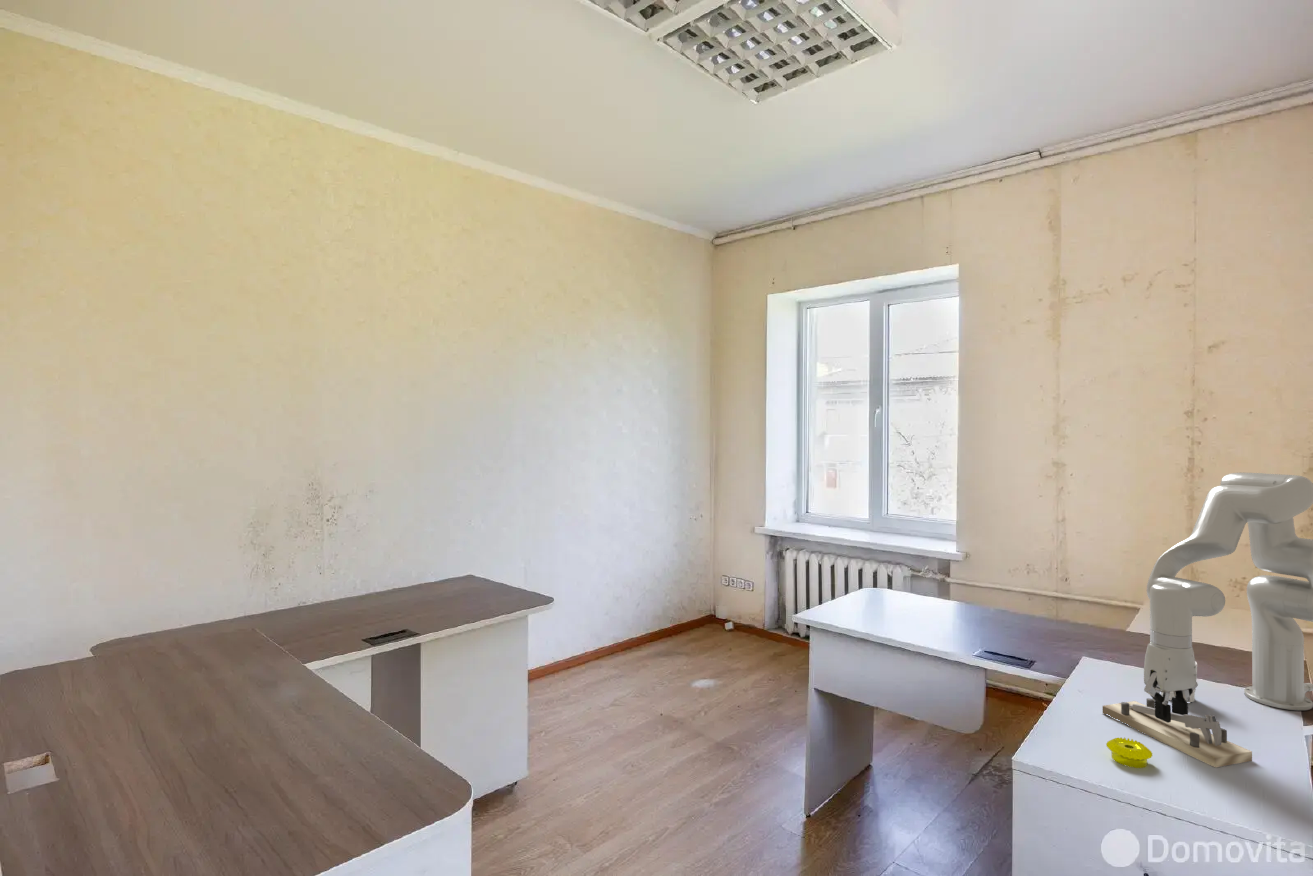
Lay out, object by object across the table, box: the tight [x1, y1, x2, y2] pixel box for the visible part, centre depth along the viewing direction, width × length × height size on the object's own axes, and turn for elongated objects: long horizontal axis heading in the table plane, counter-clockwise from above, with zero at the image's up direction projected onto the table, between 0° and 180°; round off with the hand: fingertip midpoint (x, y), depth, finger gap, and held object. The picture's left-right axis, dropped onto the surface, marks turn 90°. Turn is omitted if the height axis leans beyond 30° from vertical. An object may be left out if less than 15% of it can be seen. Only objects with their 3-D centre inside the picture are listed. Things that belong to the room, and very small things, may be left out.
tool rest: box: [1102, 697, 1253, 768], centre depth 148 cm, size 10×26×4 cm, turn 13°
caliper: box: [1129, 704, 1222, 746], centre depth 148 cm, size 20×1×6 cm, turn 14°
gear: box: [1105, 737, 1153, 769], centre depth 138 cm, size 8×4×8 cm
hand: (1171, 717), depth 148 cm, fingers open, 4 cm apart
